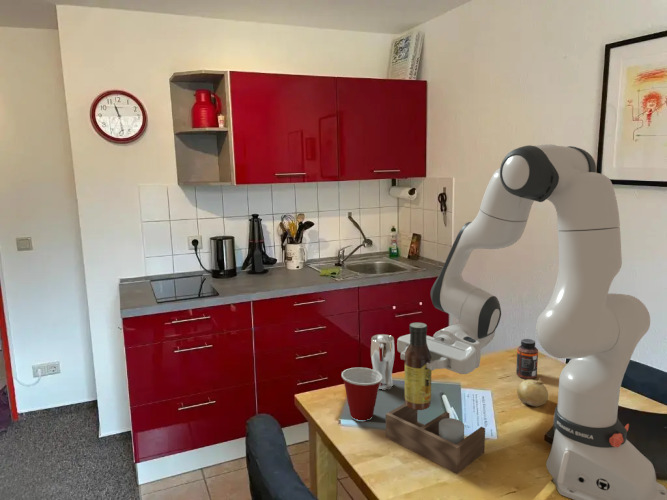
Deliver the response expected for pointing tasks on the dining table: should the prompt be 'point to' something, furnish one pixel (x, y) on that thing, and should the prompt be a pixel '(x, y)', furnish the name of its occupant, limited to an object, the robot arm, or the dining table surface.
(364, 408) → the plastic cup
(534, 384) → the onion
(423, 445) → the walnut rail
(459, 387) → the dining table surface
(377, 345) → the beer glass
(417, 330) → the sauce bottle
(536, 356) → the supplement bottle
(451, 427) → the grey rounded cylinder
